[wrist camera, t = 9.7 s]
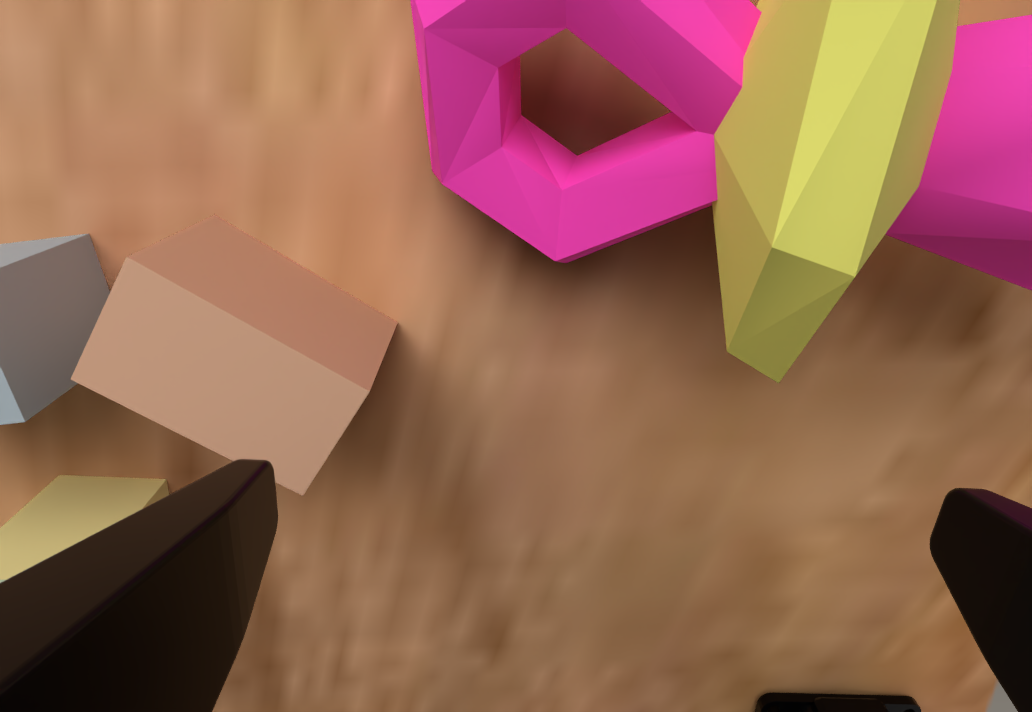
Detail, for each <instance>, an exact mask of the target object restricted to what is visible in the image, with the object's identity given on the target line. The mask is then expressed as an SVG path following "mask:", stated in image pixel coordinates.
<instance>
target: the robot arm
mask: <svg viewBox="0 0 1032 712" xmlns="http://www.w3.org/2000/svg"><path fill="white" fill-rule="evenodd" d="M277 523H278V509H277V498H276V486H275V475H274V469H273V466H272V464H271V463H270V462H269V461H268V460H257V459H238V460H235V461H233V462H231V463H229V464H228V465H226V466H224V467H222V468H220V469H218V470H216V471H214V472H212V473H210V474H208V475H206V476H205V477H203V478H201V479H199V480H197V481H195V482H193V483H191V484H189V485H187V486H185V487H183V488H181V489H180V490H178V491H176V492H174V493H172V494H170V495H168V496H166V497H164V498H162V499H160V500H158V501H157V502H155V503H153V504H151V505H149V506H147V507H145V508H143V509H141V510H139V511H137V512H135V513H133V514H132V515H130V516H128V517H126V518H124V519H122V520H120V521H118V522H116V523H114V524H112V525H110V526H109V527H107V528H105V529H103V530H101V531H99V532H97V533H95V534H93V535H91V536H89V537H87V538H85V539H84V540H82V541H80V542H78V543H76V544H74V545H72V546H70V547H68V548H66V549H64V550H62V551H61V552H59V553H57V554H55V555H53V556H51V557H49V558H47V559H45V560H43V561H41V562H39V563H37V564H36V565H34V566H32V567H30V568H28V569H26V570H24V571H22V572H20V573H18V574H16V575H14V576H12V577H11V578H9V579H7V580H5V581H3V582H1V583H0V712H212V711H213V708H214V706H215V704H216V701H217V699H218V697H219V694H220V692H221V690H222V688H223V685H224V683H225V681H226V678H227V676H228V674H229V672H230V669H231V667H232V665H233V662H234V660H235V658H236V655H237V653H238V650H239V648H240V645H241V643H242V640H243V638H244V635H245V632H246V629H247V626H248V623H249V620H250V616H251V613H252V610H253V606H254V603H255V600H256V597H257V593H258V590H259V587H260V583H261V580H262V577H263V573H264V570H265V567H266V564H267V560H268V557H269V554H270V550H271V547H272V544H273V541H274V537H275V534H276V529H277ZM930 551H931V555H932V557H933V559H934V561H935V563H936V565H937V567H938V569H939V571H940V573H941V575H942V577H943V579H944V581H945V583H946V585H947V587H948V589H949V591H950V593H951V594H952V596H953V598H954V600H955V602H956V604H957V606H958V608H959V610H960V612H961V614H962V616H963V618H964V620H965V622H966V624H967V626H968V627H969V629H970V631H971V633H972V635H973V637H974V639H975V641H976V643H977V645H978V647H979V648H980V650H981V652H982V654H983V656H984V658H985V660H986V661H987V663H988V664H989V666H990V668H991V669H992V671H993V673H994V674H995V676H996V678H997V679H998V681H999V682H1000V684H1001V686H1002V687H1003V689H1004V690H1005V692H1006V693H1007V695H1008V697H1009V698H1010V700H1011V701H1012V703H1013V704H1014V706H1015V708H1016V709H1017V711H1018V712H1032V508H1030V507H1027V506H1025V505H1022V504H1020V503H1017V502H1015V501H1013V500H1010V499H1008V498H1005V497H1003V496H1001V495H998V494H996V493H993V492H991V491H988V490H985V489H972V488H955V489H953V490H951V491H950V492H949V493H948V494H947V495H946V496H945V498H944V501H943V504H942V507H941V509H940V512H939V515H938V518H937V520H936V523H935V526H934V528H933V531H932V534H931V537H930ZM755 712H921V709H920V707H919V705H918V704H917V703H916V701H915V700H914V698H912V697H909V696H886V695H845V694H805V693H767V694H765V695H763V696H761V697H760V698H759V700H758V702H757V705H756V709H755Z"/></svg>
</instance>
